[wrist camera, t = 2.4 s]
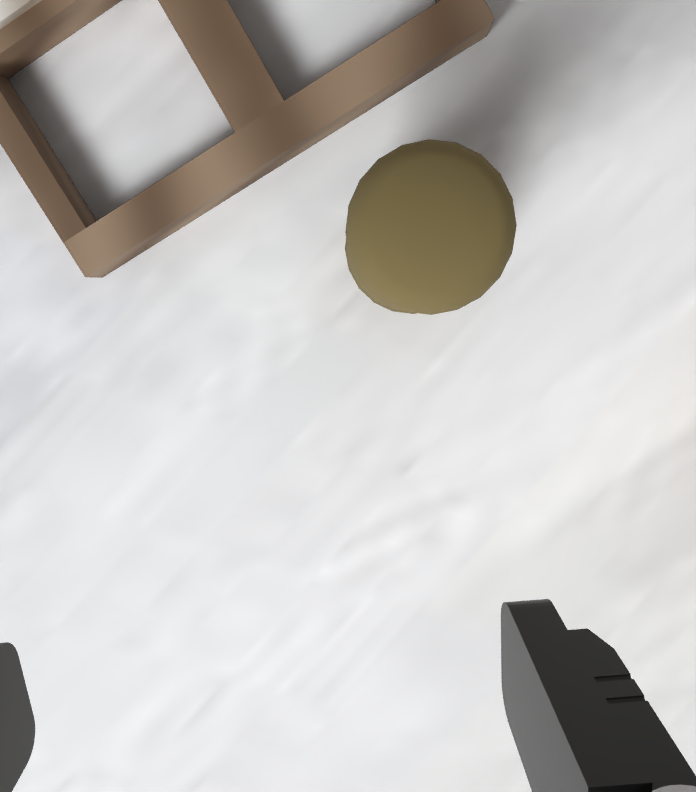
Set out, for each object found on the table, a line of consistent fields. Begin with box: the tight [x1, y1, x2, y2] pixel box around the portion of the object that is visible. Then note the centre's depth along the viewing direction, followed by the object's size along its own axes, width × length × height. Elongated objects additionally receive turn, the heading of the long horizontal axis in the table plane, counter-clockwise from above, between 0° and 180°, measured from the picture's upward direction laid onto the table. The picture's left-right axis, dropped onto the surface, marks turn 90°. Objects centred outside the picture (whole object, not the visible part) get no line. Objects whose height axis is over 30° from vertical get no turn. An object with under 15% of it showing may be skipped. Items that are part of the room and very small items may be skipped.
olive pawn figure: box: [345, 140, 516, 315], centre depth 24 cm, size 6×6×11 cm
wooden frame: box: [0, 0, 494, 277], centre depth 27 cm, size 20×14×2 cm
